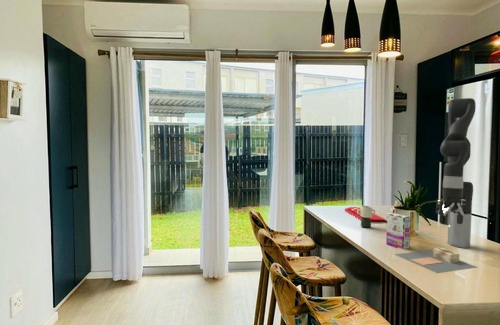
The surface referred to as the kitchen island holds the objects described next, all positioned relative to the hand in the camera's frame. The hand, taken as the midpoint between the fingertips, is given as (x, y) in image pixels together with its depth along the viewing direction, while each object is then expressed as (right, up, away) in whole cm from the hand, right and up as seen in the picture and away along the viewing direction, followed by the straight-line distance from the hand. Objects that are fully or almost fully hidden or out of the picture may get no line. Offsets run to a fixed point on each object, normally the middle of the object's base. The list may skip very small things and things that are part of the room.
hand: (451, 224), depth 145 cm
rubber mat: (-6, -17, +4) cm, 19 cm away
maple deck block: (+1, -17, +6) cm, 18 cm away
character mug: (-14, -14, +66) cm, 69 cm away
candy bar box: (-12, -17, +26) cm, 33 cm away
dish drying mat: (-4, -13, +98) cm, 99 cm away
